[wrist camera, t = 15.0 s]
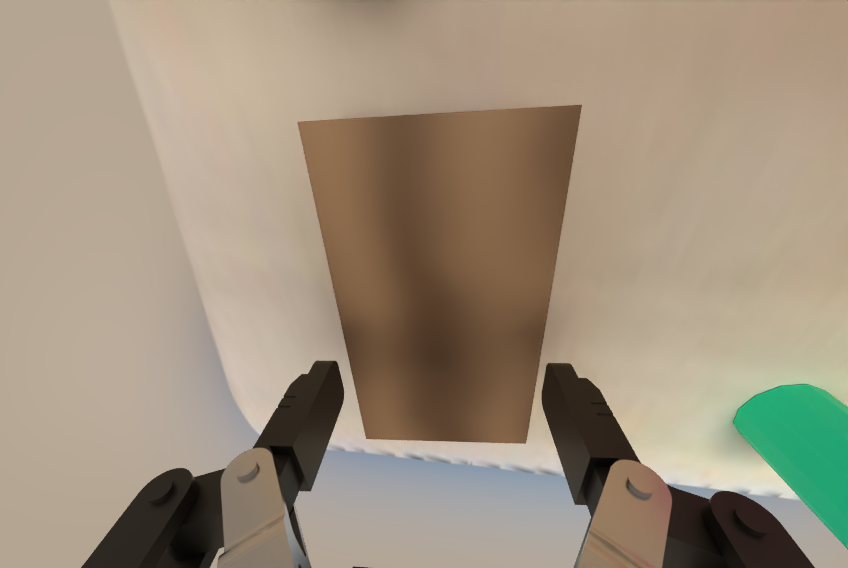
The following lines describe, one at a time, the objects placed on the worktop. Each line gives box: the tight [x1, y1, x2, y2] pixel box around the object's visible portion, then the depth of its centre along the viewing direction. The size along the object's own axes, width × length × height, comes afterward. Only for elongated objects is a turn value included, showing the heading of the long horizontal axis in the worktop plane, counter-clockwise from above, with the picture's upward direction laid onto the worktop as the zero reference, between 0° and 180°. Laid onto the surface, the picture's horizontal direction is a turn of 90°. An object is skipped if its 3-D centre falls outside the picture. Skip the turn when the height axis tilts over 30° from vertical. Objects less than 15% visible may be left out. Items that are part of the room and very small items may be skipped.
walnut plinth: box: [298, 105, 582, 444], centre depth 17 cm, size 10×18×5 cm, turn 3°
